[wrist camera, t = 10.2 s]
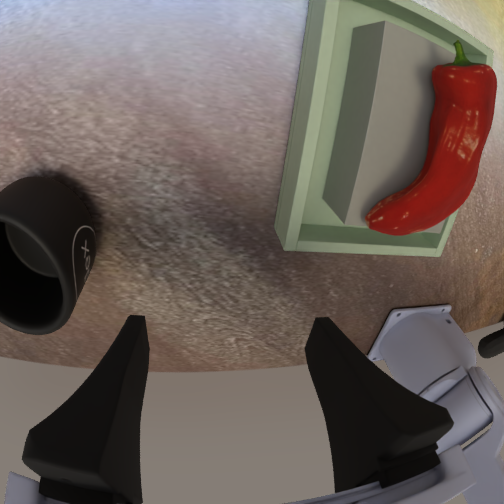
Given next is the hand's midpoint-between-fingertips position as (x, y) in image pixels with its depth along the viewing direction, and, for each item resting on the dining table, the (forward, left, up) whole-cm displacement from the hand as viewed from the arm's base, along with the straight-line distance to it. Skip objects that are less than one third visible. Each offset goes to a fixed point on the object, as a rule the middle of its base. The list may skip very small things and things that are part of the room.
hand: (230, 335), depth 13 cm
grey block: (-11, -9, -10) cm, 17 cm away
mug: (+14, 0, -11) cm, 18 cm away
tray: (-11, -9, -10) cm, 17 cm away
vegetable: (-11, -9, -6) cm, 15 cm away
